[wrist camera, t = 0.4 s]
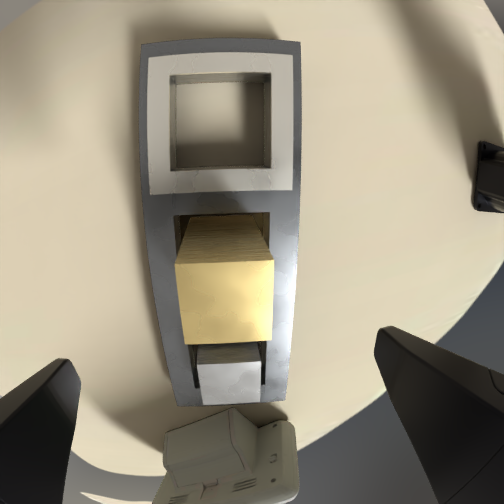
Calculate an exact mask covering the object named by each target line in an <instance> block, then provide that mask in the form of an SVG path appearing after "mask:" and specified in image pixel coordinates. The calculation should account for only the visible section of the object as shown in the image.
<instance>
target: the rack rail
mask: <svg viewBox="0 0 504 504" xmlns="http://www.w3.org/2000/svg"><path fill="white" fill-rule="evenodd" d="M213 82H258V83H264V166H211V167H189V168H177V157H176V85H177V84H191V83H213ZM301 132H302V96H301V46H300V42H295V41H285V40H273V39H255V38H206V39H188V40H176V41H166V42H157V43H149V44H142V45H141V58H140V79H139V150H140V173H141V189H142V202H143V214H144V224H145V234H146V243H147V251H148V259H149V266H150V274H151V280H152V287H153V293H154V299H155V305H156V311H157V317H158V322H159V327H160V333H161V338H162V343H163V347H164V352H165V357H166V361H167V366H168V370H169V374H170V378H171V383H172V387H173V391H174V395H175V398H176V402H177V406H221V405H239V404H253V403H264V402H274V401H283V400H285V397H286V388H287V379H288V369H289V359H290V349H291V338H292V326H293V314H294V301H295V287H296V272H297V255H298V236H299V214H300V185H301ZM248 212H263V238H264V240H265V242H266V244H267V246H268V248H269V251H270V253H271V255H272V257H273V259H274V285H273V313H272V337H271V340H266V341H261V386H260V402H250V403H236V404H217V405H203V400H202V394H201V388H200V382H199V376H198V370H197V368H196V365H195V358H194V352H193V345H192V344H185V341H184V335H183V328H182V321H181V314H180V306H179V299H178V291H177V282H176V273H175V261H176V258H177V255H178V252H179V249H180V246H181V234H180V219H179V215H193V214H217V213H248Z"/></svg>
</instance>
